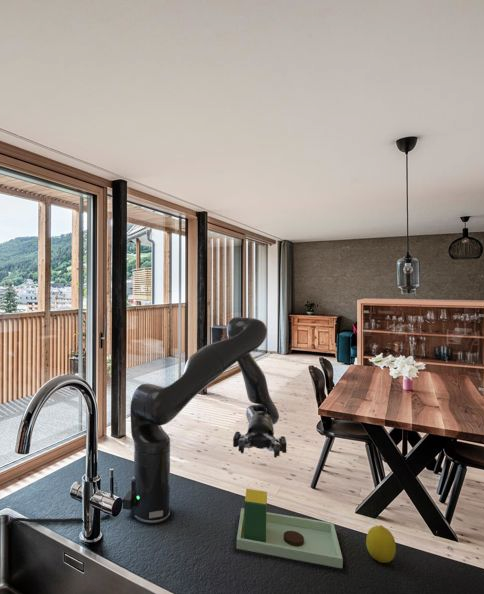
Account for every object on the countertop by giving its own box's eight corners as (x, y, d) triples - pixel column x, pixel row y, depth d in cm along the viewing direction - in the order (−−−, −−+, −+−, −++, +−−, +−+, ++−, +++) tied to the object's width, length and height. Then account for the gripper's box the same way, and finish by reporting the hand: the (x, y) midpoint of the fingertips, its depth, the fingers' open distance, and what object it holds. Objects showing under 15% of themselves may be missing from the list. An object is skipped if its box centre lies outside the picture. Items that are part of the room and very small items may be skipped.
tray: (236, 550, 91) (236, 539, 91) (241, 518, 104) (241, 507, 104) (342, 571, 85) (342, 558, 85) (333, 533, 98) (333, 522, 98)
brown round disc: (283, 544, 93) (283, 540, 93) (283, 533, 97) (283, 529, 97) (304, 548, 92) (304, 543, 92) (303, 536, 96) (303, 532, 96)
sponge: (243, 541, 94) (244, 502, 94) (245, 524, 100) (246, 488, 100) (265, 545, 92) (266, 505, 92) (266, 528, 99) (266, 491, 99)
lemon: (399, 573, 85) (400, 535, 84) (370, 569, 86) (371, 531, 86) (389, 556, 90) (390, 520, 90) (362, 552, 91) (363, 517, 91)
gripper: (236, 416, 126) (231, 434, 110) (285, 421, 122) (287, 441, 106) (236, 440, 126) (231, 462, 110) (285, 446, 122) (286, 469, 106)
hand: (258, 451), depth 108 cm, fingers open, 8 cm apart
